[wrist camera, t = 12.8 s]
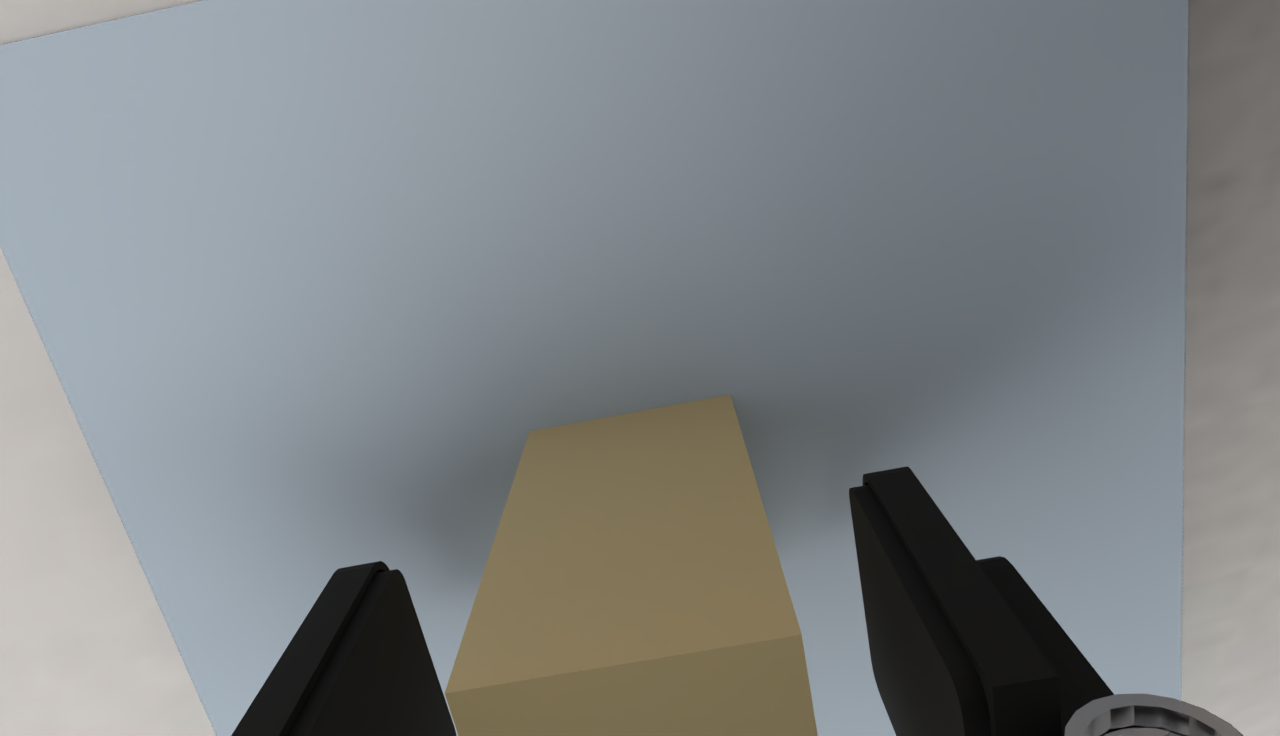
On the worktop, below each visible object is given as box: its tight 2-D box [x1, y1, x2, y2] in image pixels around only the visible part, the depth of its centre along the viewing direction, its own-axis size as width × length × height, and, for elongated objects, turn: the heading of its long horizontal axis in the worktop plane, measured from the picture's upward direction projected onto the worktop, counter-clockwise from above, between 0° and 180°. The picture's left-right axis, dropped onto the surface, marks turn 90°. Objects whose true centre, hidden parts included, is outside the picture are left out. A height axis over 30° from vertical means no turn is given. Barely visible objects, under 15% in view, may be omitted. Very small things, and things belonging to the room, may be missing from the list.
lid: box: [0, 0, 1189, 736], centre depth 11 cm, size 17×17×7 cm
